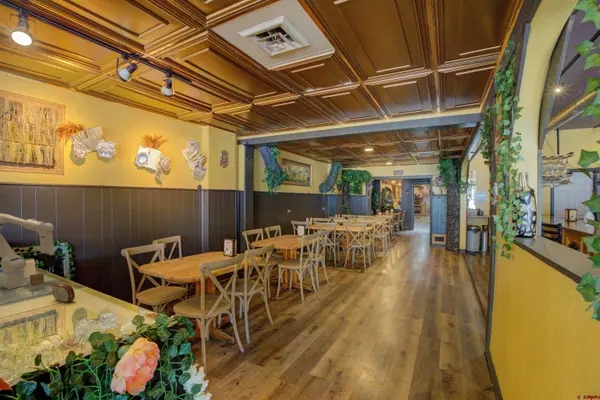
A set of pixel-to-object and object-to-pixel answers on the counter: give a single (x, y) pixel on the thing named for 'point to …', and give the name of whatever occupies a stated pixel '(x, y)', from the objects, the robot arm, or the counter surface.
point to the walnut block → (36, 279)
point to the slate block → (37, 287)
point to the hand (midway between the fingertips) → (48, 265)
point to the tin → (63, 292)
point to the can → (29, 268)
